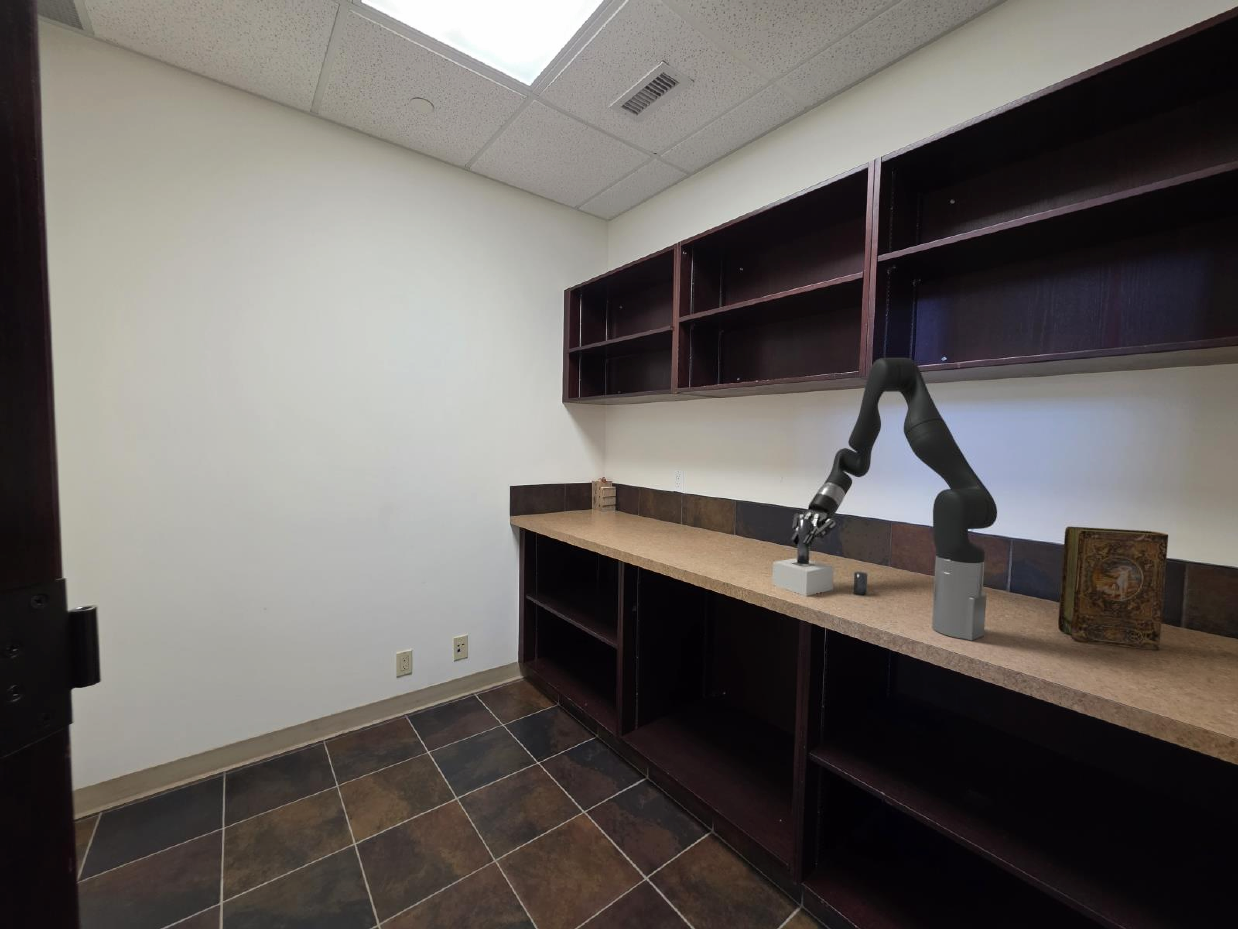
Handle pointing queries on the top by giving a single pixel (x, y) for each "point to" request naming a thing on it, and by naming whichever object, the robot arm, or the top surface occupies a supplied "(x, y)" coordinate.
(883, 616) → the top surface
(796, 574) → the hole block
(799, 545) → the long pin
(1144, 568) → the book
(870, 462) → the robot arm
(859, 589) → the short pin
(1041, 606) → the top surface
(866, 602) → the top surface
